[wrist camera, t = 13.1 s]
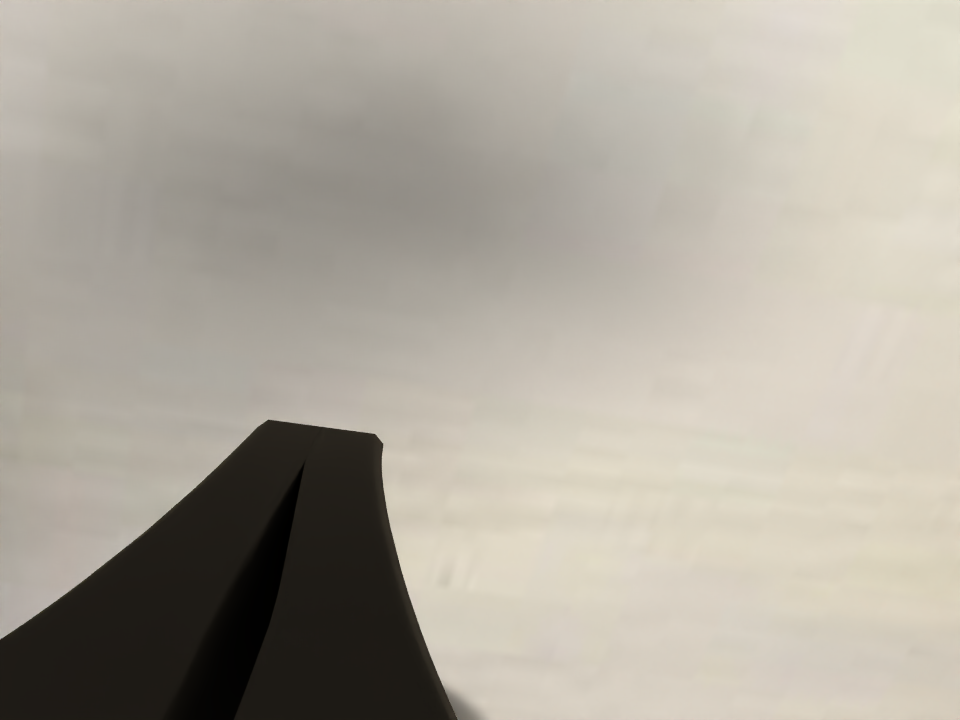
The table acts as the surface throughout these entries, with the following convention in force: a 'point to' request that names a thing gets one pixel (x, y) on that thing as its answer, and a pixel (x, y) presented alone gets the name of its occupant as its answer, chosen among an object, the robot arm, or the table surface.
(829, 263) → the table surface
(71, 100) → the table surface
